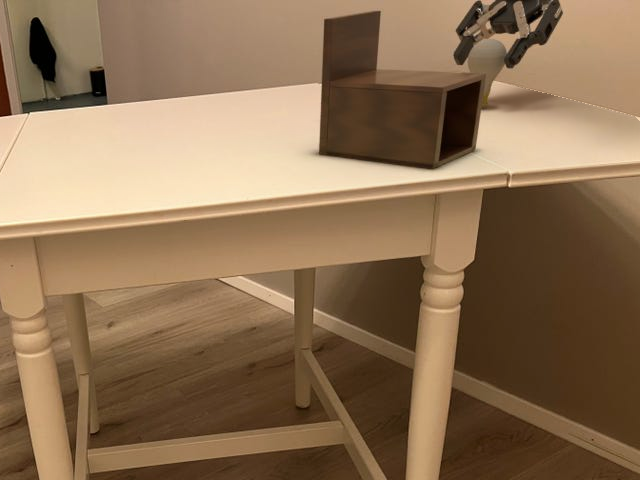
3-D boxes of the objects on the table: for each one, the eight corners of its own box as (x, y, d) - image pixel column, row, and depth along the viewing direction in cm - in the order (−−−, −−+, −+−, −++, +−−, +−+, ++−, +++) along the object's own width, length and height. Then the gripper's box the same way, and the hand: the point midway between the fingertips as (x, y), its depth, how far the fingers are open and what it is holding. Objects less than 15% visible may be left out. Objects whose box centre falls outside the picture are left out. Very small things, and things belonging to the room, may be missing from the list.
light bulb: (462, 111, 110) (471, 41, 105) (460, 105, 115) (469, 37, 110) (500, 110, 108) (511, 39, 104) (497, 104, 113) (507, 36, 108)
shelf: (475, 149, 89) (496, 8, 81) (433, 169, 82) (451, 17, 74) (364, 137, 99) (372, 10, 91) (318, 154, 92) (323, 18, 85)
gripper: (488, -43, 110) (433, 45, 110) (580, -50, 100) (518, 48, 100) (503, -8, 115) (450, 76, 115) (591, -10, 105) (533, 82, 105)
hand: (481, 63), depth 108 cm, fingers open, 8 cm apart
